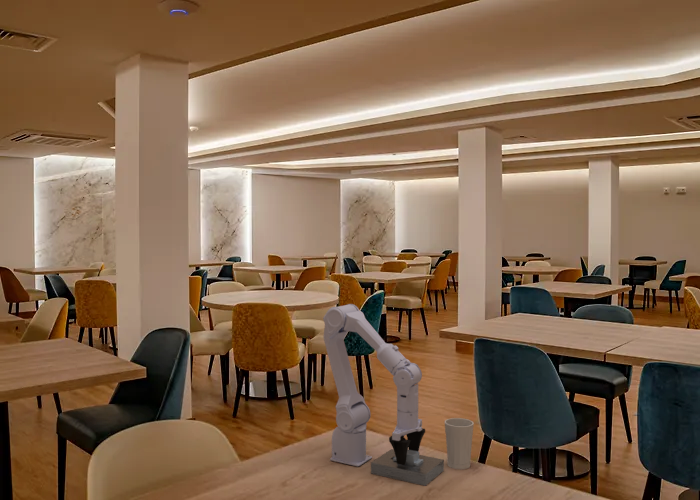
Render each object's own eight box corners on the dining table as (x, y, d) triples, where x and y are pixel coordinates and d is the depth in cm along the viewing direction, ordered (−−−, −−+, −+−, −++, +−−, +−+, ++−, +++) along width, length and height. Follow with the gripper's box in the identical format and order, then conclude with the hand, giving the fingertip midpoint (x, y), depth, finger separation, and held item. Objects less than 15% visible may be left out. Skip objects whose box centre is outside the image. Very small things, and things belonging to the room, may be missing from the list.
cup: (473, 471, 170) (473, 427, 169) (443, 469, 171) (443, 425, 171) (473, 460, 178) (473, 418, 177) (445, 458, 179) (445, 417, 179)
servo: (392, 471, 170) (392, 451, 170) (398, 467, 173) (398, 447, 173) (417, 477, 166) (417, 456, 166) (423, 472, 169) (423, 452, 169)
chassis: (370, 473, 168) (370, 462, 168) (391, 459, 179) (391, 449, 179) (425, 485, 160) (425, 474, 160) (443, 470, 170) (443, 459, 170)
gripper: (409, 418, 161) (409, 471, 161) (432, 405, 173) (432, 454, 173) (385, 414, 164) (384, 465, 165) (409, 401, 177) (408, 449, 177)
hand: (407, 459), depth 169 cm, fingers open, 7 cm apart
